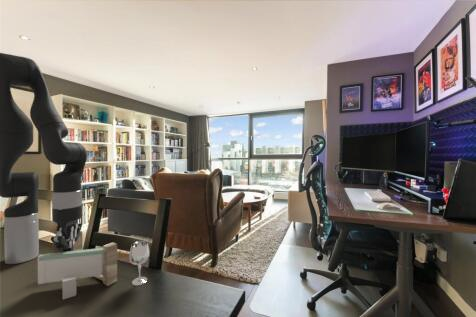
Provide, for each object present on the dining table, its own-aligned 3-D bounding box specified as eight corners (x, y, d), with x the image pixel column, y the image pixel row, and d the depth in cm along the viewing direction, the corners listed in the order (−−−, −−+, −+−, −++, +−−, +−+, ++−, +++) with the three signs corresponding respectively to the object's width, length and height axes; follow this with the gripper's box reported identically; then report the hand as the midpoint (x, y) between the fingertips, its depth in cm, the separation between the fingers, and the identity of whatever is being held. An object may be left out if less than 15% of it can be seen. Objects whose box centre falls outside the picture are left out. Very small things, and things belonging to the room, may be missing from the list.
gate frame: (69, 265, 77) (69, 232, 77) (79, 262, 80) (79, 230, 79) (107, 286, 65) (107, 247, 65) (117, 280, 68) (117, 243, 68)
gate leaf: (109, 272, 70) (109, 247, 69) (108, 275, 68) (108, 249, 68) (41, 281, 64) (41, 254, 64) (37, 285, 63) (37, 257, 62)
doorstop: (76, 290, 63) (76, 273, 63) (76, 295, 61) (75, 278, 61) (63, 293, 62) (63, 276, 61) (62, 299, 59) (62, 281, 59)
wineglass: (141, 287, 65) (141, 248, 64) (125, 285, 66) (125, 247, 65) (153, 277, 70) (153, 241, 70) (137, 275, 71) (137, 239, 71)
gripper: (66, 200, 73) (67, 249, 74) (39, 210, 60) (39, 270, 61) (90, 199, 75) (91, 248, 75) (68, 209, 62) (69, 268, 62)
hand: (68, 258), depth 68 cm, fingers closed
